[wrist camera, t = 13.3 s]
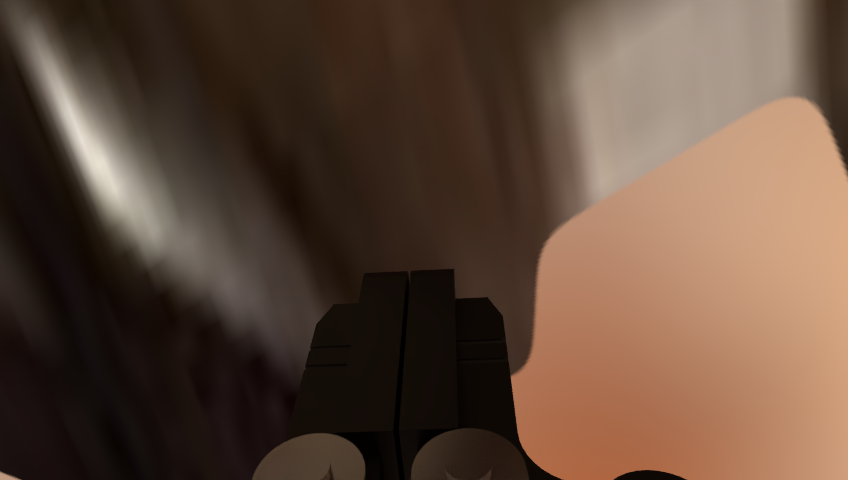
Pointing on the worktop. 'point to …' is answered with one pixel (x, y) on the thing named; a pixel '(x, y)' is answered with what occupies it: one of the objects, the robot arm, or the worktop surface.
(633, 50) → the worktop surface
